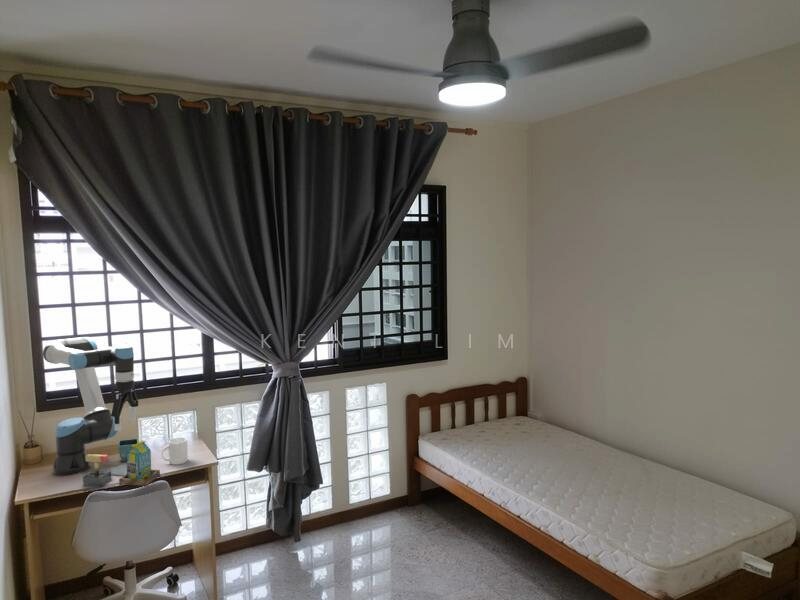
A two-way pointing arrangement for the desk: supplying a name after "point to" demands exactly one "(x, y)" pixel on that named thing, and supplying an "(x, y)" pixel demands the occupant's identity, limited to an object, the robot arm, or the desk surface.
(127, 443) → the flower pot
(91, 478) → the block
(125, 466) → the mat
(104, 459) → the key
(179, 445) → the mug
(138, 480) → the frame
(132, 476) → the carton
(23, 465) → the desk surface
